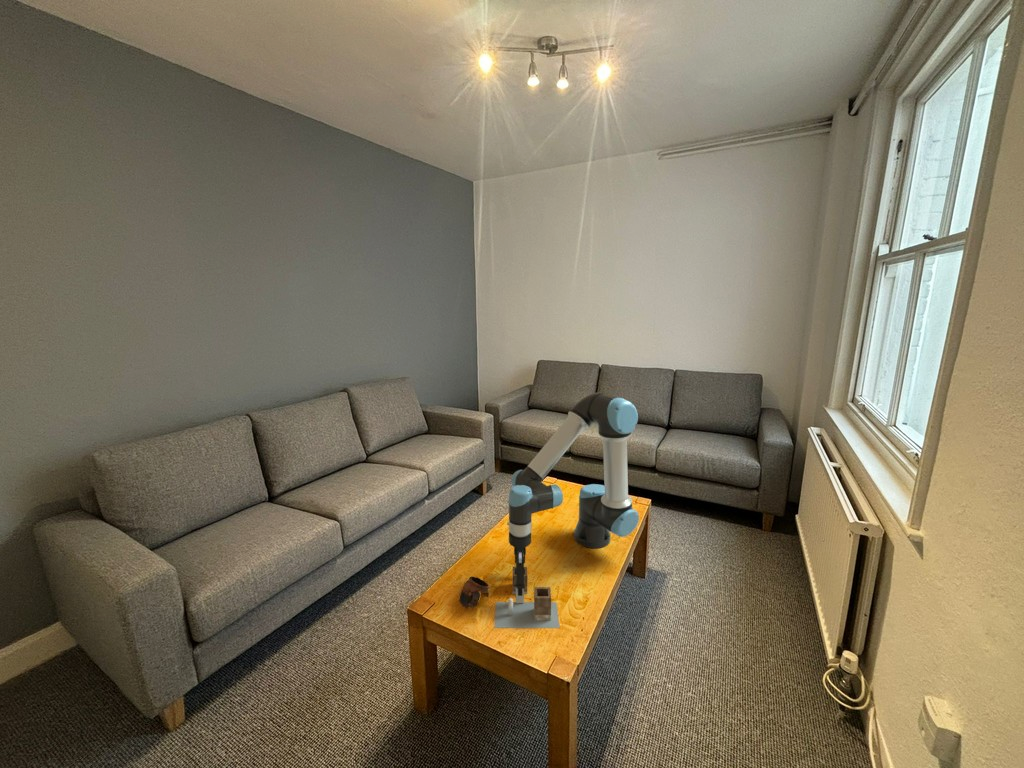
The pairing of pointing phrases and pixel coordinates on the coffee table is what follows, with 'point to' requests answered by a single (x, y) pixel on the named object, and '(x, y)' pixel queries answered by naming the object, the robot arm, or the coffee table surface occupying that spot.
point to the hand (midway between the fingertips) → (519, 590)
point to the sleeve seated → (542, 603)
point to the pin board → (522, 616)
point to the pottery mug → (472, 592)
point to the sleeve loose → (524, 580)
